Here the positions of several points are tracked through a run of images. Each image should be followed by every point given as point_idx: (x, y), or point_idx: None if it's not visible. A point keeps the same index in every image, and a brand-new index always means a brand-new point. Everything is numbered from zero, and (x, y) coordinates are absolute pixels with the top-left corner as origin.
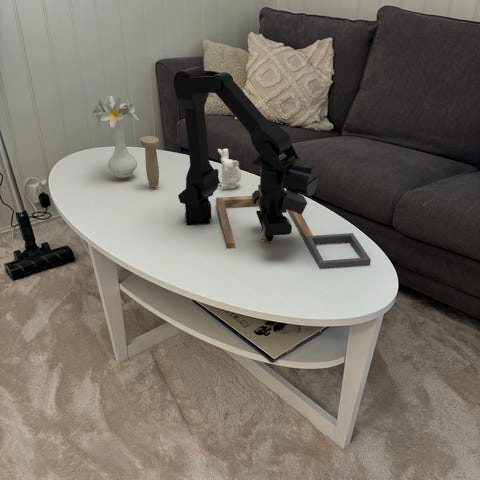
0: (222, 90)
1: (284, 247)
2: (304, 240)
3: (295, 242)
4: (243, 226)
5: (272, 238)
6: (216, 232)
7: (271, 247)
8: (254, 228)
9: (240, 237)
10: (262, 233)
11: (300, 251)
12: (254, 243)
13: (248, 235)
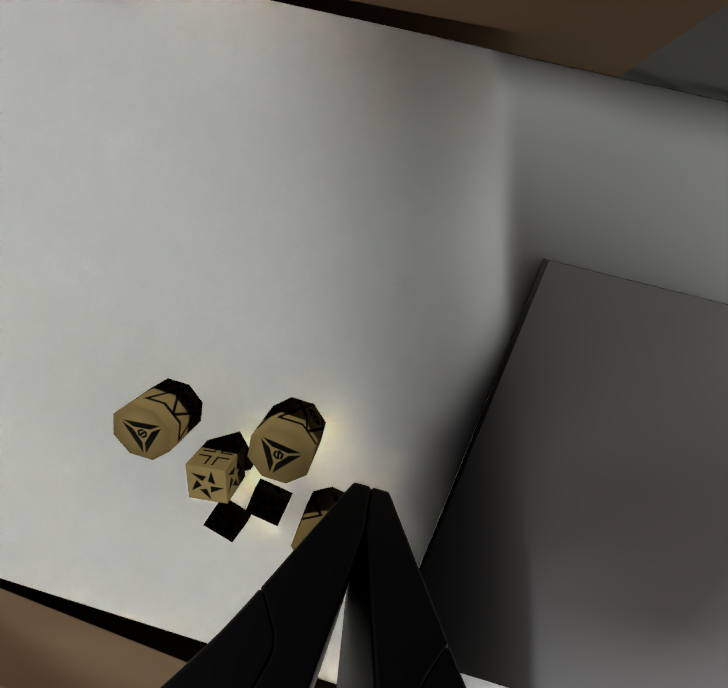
0: None
1: (488, 363)
2: (557, 33)
3: (447, 178)
4: (34, 507)
5: (402, 532)
6: None
7: (427, 473)
8: (70, 450)
9: (195, 591)
10: (211, 498)
11: (682, 223)
12: None
13: (176, 537)
